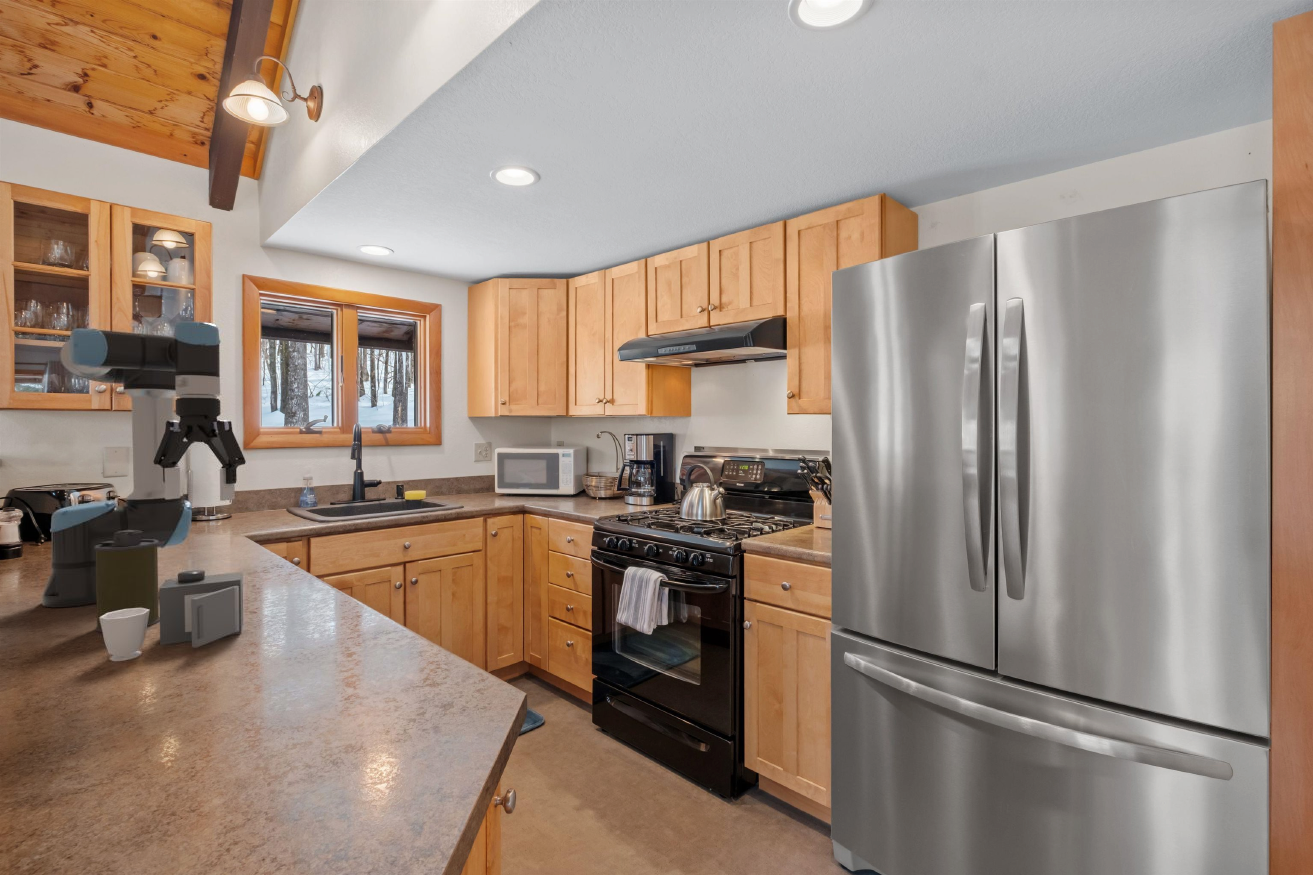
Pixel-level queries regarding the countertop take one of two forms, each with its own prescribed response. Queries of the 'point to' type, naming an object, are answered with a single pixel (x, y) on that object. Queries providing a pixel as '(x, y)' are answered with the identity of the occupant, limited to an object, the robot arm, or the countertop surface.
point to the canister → (127, 575)
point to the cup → (124, 632)
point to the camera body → (178, 601)
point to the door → (214, 615)
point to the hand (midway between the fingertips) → (199, 499)
